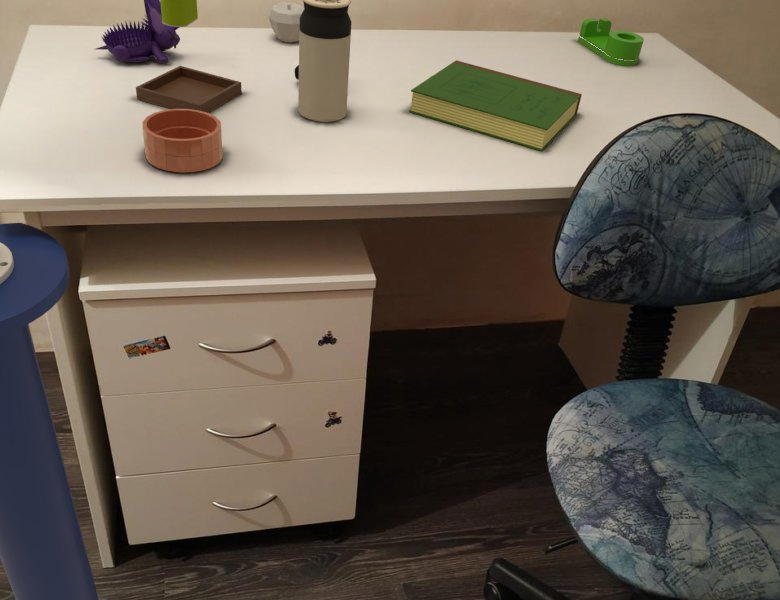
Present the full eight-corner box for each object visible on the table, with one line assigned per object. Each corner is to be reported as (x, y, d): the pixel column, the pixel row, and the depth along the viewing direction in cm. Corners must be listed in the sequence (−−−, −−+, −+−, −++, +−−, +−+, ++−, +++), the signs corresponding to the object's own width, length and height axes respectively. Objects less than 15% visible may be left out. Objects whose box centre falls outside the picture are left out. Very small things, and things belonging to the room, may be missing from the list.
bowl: (194, 181, 112) (192, 147, 108) (130, 161, 114) (126, 127, 111) (236, 153, 119) (235, 120, 116) (175, 135, 122) (172, 102, 119)
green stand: (644, 64, 167) (650, 41, 164) (615, 66, 164) (622, 43, 161) (603, 40, 177) (609, 18, 174) (576, 41, 174) (582, 19, 171)
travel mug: (311, 126, 129) (314, 7, 117) (290, 107, 134) (291, -9, 122) (354, 119, 132) (362, 3, 120) (332, 101, 137) (337, -13, 125)
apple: (311, 47, 156) (312, 11, 152) (271, 46, 155) (271, 10, 150) (305, 33, 162) (306, -2, 158) (266, 32, 160) (266, -3, 156)
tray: (200, 117, 127) (199, 105, 126) (136, 99, 130) (135, 87, 129) (241, 93, 136) (241, 82, 135) (181, 77, 139) (180, 65, 138)
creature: (201, 65, 144) (196, -7, 136) (95, 67, 139) (84, -8, 131) (195, 48, 150) (190, -22, 142) (93, 49, 145) (82, -24, 137)
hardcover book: (576, 114, 143) (581, 94, 140) (542, 151, 130) (547, 129, 127) (449, 79, 150) (452, 59, 148) (404, 110, 137) (407, 88, 135)
